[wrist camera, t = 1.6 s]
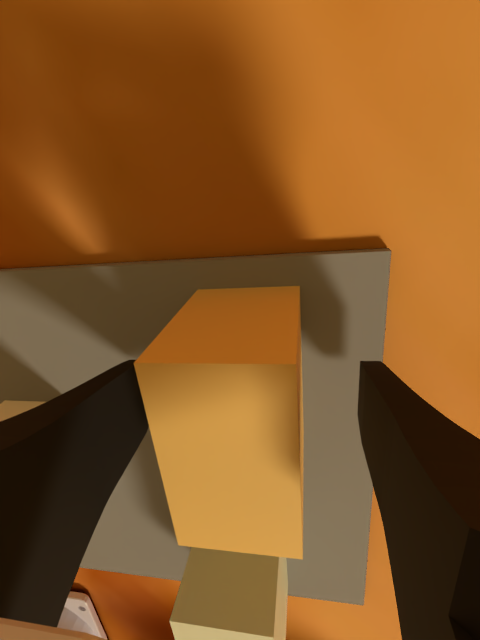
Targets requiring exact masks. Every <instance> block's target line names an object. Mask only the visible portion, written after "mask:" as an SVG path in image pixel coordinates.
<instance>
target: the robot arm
mask: <svg viewBox="0 0 480 640" xmlns="http://www.w3.org/2000/svg"><path fill="white" fill-rule="evenodd" d="M135 361H136V360H128V361H125V362H123V363H120V364H118V365H116V366H114V367H112V368H110V369H109V370H107V371H105V372H103V373H101V374H99V375H97V376H96V377H94V378H92V379H90V380H88V381H86V382H85V383H83V384H81V385H79V386H77V387H75V388H73V389H71V390H69V391H67V392H65V393H63V394H61V395H59V396H57V397H55V398H53V399H51V400H50V401H48V402H45V403H43V404H41V405H39V406H37V407H35V408H32V409H30V410H28V411H25V412H23V413H21V414H18V415H16V416H13V417H11V418H8V419H6V420H3V421H0V640H108V639H107V637H106V634H105V632H104V630H103V627H102V625H101V623H100V621H99V618H98V616H97V614H96V611H95V609H94V607H93V604H92V602H91V600H90V598H89V596H88V595H86V594H84V593H80V592H73V591H70V590H71V587H72V585H73V582H74V579H75V577H76V574H77V572H78V569H79V566H80V564H81V561H82V559H83V557H84V554H85V552H86V549H87V547H88V545H89V542H90V540H91V537H92V535H93V533H94V530H95V528H96V526H97V524H98V521H99V519H100V517H101V515H102V513H103V510H104V508H105V506H106V504H107V502H108V500H109V498H110V496H111V494H112V492H113V490H114V488H115V487H116V485H117V483H118V481H119V480H120V478H121V476H122V475H123V473H124V471H125V469H126V468H127V466H128V464H129V463H130V461H131V459H132V457H133V456H134V454H135V452H136V451H137V449H138V447H139V445H140V443H141V442H142V440H143V438H144V436H145V434H146V433H147V430H148V428H149V424H148V420H147V416H146V412H145V407H144V403H143V399H142V395H141V391H140V387H139V383H138V379H137V375H136V371H135V367H134V362H135ZM357 415H358V422H359V429H360V436H361V443H362V447H363V450H364V454H365V458H366V462H367V465H368V469H369V472H370V476H371V480H372V483H373V487H374V491H375V494H376V498H377V501H378V505H379V509H380V513H381V517H382V521H383V526H384V531H385V536H386V542H387V548H388V554H389V559H390V565H391V571H392V578H393V584H394V590H395V596H396V602H397V608H398V615H399V622H400V628H401V635H402V640H480V439H478V438H477V437H475V436H474V435H472V434H471V433H469V432H467V431H466V430H464V429H463V428H461V427H460V426H458V425H457V424H455V423H454V422H452V421H451V420H450V419H448V418H447V417H445V416H444V415H443V414H442V413H440V412H439V411H438V410H436V409H435V408H434V407H432V406H431V405H430V404H428V403H427V402H426V401H425V400H424V399H422V398H421V397H420V396H419V395H418V394H416V393H415V392H414V391H413V390H412V389H411V388H409V387H408V386H407V385H406V384H405V383H404V382H403V381H402V380H401V379H400V378H398V377H397V376H396V375H395V374H394V373H393V372H392V371H391V370H390V369H389V368H388V367H387V366H386V365H385V364H384V363H383V362H381V361H360V372H359V393H358V413H357Z"/></svg>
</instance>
